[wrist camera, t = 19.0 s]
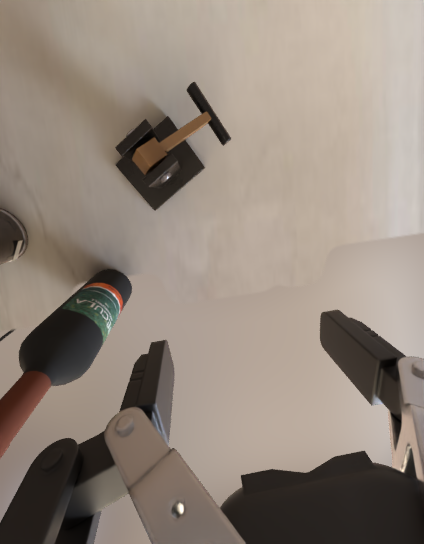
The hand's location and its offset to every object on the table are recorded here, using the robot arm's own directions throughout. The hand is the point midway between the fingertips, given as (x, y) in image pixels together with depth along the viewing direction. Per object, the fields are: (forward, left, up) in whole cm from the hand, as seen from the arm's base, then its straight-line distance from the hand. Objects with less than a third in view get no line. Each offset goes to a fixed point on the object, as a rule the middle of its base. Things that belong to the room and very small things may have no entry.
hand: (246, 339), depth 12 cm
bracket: (+1, +13, -32) cm, 35 cm away
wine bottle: (-21, +3, -32) cm, 39 cm away
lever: (+5, +13, -24) cm, 28 cm away
